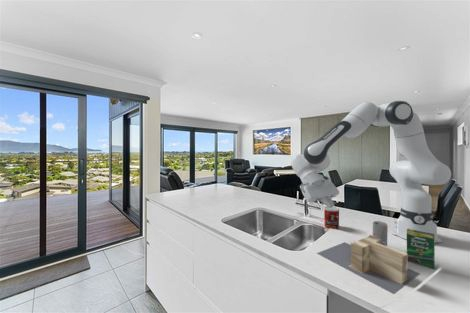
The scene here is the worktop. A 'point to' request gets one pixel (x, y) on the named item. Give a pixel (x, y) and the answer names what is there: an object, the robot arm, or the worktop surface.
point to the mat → (343, 258)
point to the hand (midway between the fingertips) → (331, 206)
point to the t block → (379, 259)
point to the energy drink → (380, 231)
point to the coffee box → (421, 248)
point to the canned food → (331, 217)
